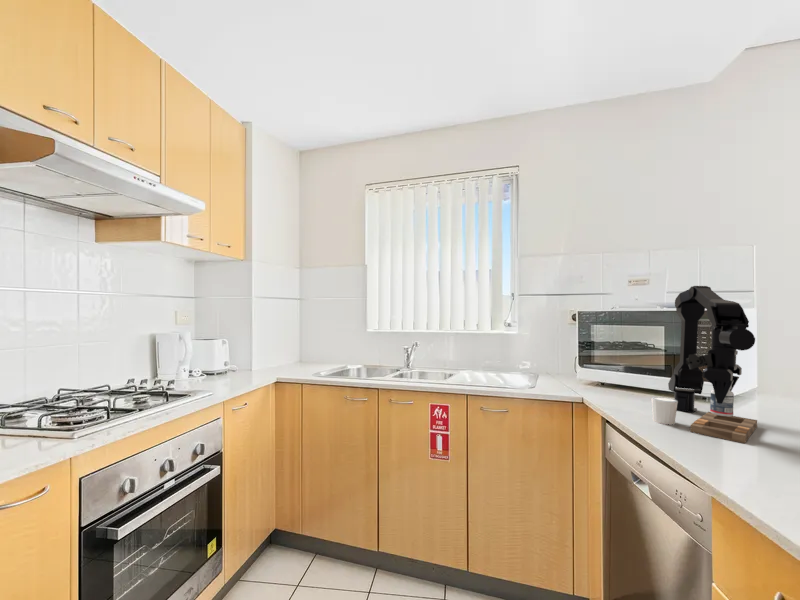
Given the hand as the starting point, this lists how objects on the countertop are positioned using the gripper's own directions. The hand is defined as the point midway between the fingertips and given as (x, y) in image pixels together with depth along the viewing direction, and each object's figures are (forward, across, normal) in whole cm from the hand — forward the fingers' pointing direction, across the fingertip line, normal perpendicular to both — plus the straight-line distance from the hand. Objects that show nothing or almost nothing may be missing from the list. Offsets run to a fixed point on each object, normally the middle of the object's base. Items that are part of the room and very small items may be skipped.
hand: (721, 401), depth 118 cm
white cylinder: (+9, 0, -14) cm, 17 cm away
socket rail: (+9, -6, 0) cm, 11 cm away
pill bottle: (+4, 0, 0) cm, 4 cm away
